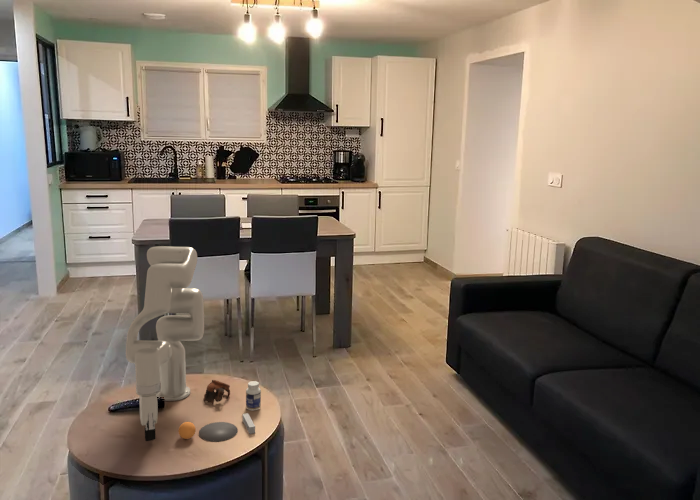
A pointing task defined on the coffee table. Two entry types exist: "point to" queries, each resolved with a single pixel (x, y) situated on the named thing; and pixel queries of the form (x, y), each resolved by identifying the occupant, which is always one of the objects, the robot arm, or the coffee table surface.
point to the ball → (187, 430)
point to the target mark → (218, 431)
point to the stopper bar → (248, 423)
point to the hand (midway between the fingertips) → (150, 439)
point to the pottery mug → (219, 392)
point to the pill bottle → (253, 396)
